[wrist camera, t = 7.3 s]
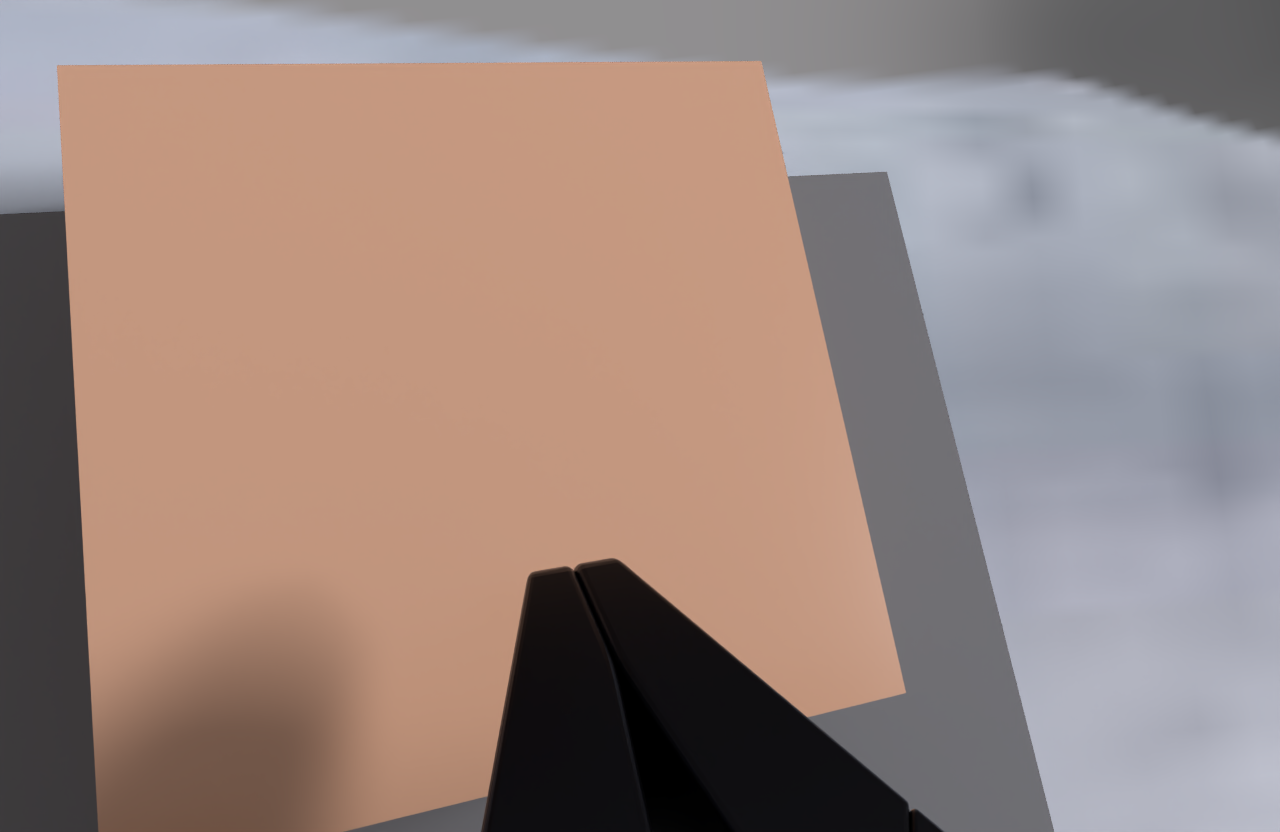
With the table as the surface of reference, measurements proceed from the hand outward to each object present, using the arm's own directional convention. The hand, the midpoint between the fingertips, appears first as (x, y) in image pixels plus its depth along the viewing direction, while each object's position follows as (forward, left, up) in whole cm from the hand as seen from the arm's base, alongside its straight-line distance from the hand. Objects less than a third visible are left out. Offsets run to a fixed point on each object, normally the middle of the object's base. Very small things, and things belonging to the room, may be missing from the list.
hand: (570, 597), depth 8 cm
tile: (-2, -2, -5) cm, 5 cm away
